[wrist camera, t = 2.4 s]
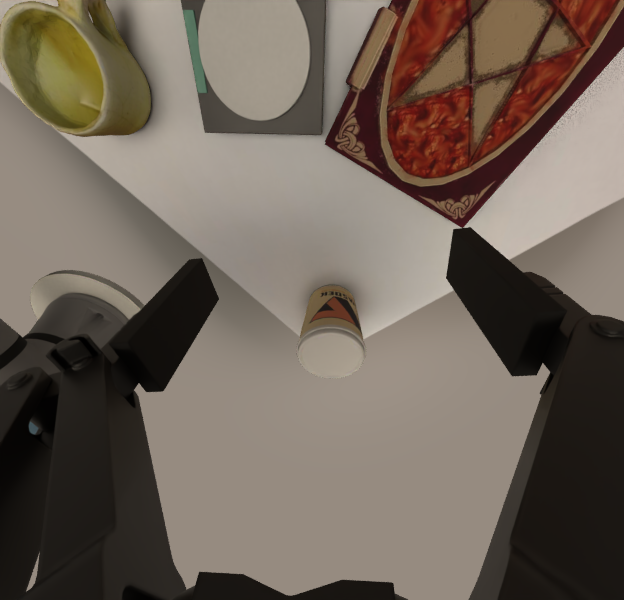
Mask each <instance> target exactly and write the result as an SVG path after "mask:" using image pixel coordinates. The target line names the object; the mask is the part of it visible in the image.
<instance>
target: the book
mask: <svg viewBox="0 0 624 600" xmlns="http://www.w3.org/2000/svg"><path fill="white" fill-rule="evenodd" d="M623 47H624V0H392V1H391V3H390V5H389V7H388V9H387V8H385V7H382V8H380V9H379V10H378V12H377V14H376V16H375V19H374V21H373V23H372V25H371V27H370V29H369V32H368V34H367V36H366V38H365V40H364V42H363V45H362V47H361V49H360V51H359V53H358V56H357V58H356V60H355V62H354V64H353V66H352V69H351V71H350V73H349V75H348V77H347V79H346V83H347V85H349V86H350V87H351V88H350V90H349V92H348V94H347V96H346V98H345V100H344V103H343V105H342V107H341V109H340V111H339V113H338V115H337V117H336V119H335V122H334V124H333V126H332V128H331V130H330V132H329V134H328V136H327V138H326V141H325V142H326V143H325V145H327V146H329V147H330V148H332V149H333V150H335V151H337V152H338V153H340V154H342V155H343V156H345V157H347V158H348V159H350V160H352V161H353V162H355V163H356V164H358V165H360V166H361V167H363V168H365V169H366V170H368V171H370V172H371V173H373V174H375V175H376V176H378V177H379V178H381V179H383V180H384V181H386V182H388V183H389V184H391V185H393V186H394V187H396V188H398V189H399V190H401V191H402V192H404V193H406V194H407V195H409V196H411V197H412V198H414V199H416V200H417V201H419V202H421V203H422V204H424V205H425V206H427V207H429V208H430V209H432V210H434V211H435V212H437V213H439V214H440V215H442V216H444V217H445V218H447V219H448V220H450V221H452V222H453V223H455V224H457V225H458V226H460V227H462V228H463V227H464V226H465V225H466V224H467V223H468V222H469V220H470V219H471V218H472V217H473V216H474V215H475V214H476V213H477V211H478V210H479V209H480V208H481V207H482V206H483V205H484V204H485V202H486V201H487V200H488V199H489V198H490V197H491V196H492V194H493V193H494V192H495V191H496V190H497V189H498V188H499V187H500V185H501V184H502V183H503V182H504V181H505V180H506V179H507V178H508V176H509V175H510V174H511V173H512V172H513V171H514V170H515V169H516V167H517V166H518V165H519V164H520V163H521V162H522V161H523V160H524V158H525V157H526V156H527V155H528V154H529V153H530V152H531V151H532V149H533V148H534V147H535V146H536V145H537V144H538V143H539V142H540V140H541V139H542V138H543V137H544V136H545V135H546V134H547V133H548V131H549V130H550V129H551V128H552V127H553V126H554V125H555V124H556V122H557V121H558V120H559V119H560V118H561V117H562V116H563V115H564V113H565V112H566V111H567V110H568V109H569V108H570V107H571V106H572V104H573V103H574V102H575V101H576V100H577V99H578V98H579V97H580V95H581V94H582V93H583V92H584V91H585V90H586V89H587V88H588V86H589V85H590V84H591V83H592V82H593V81H594V80H595V79H596V77H597V76H598V75H599V74H600V73H601V72H602V71H603V70H604V68H605V67H606V66H607V65H608V64H609V63H610V62H611V61H612V59H613V58H614V57H615V56H616V55H617V54H618V53H619V52H620V50H621V49H622V48H623Z"/></svg>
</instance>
